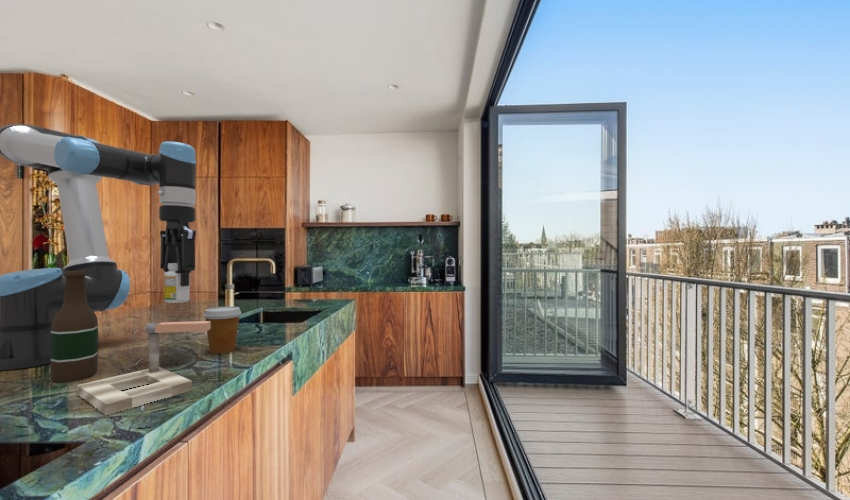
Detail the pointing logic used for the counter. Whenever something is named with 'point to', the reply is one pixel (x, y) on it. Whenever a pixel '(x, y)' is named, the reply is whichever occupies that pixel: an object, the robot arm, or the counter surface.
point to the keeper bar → (178, 326)
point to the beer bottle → (74, 333)
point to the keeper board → (135, 385)
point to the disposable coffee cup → (222, 328)
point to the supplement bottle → (171, 284)
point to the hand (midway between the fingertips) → (177, 298)
